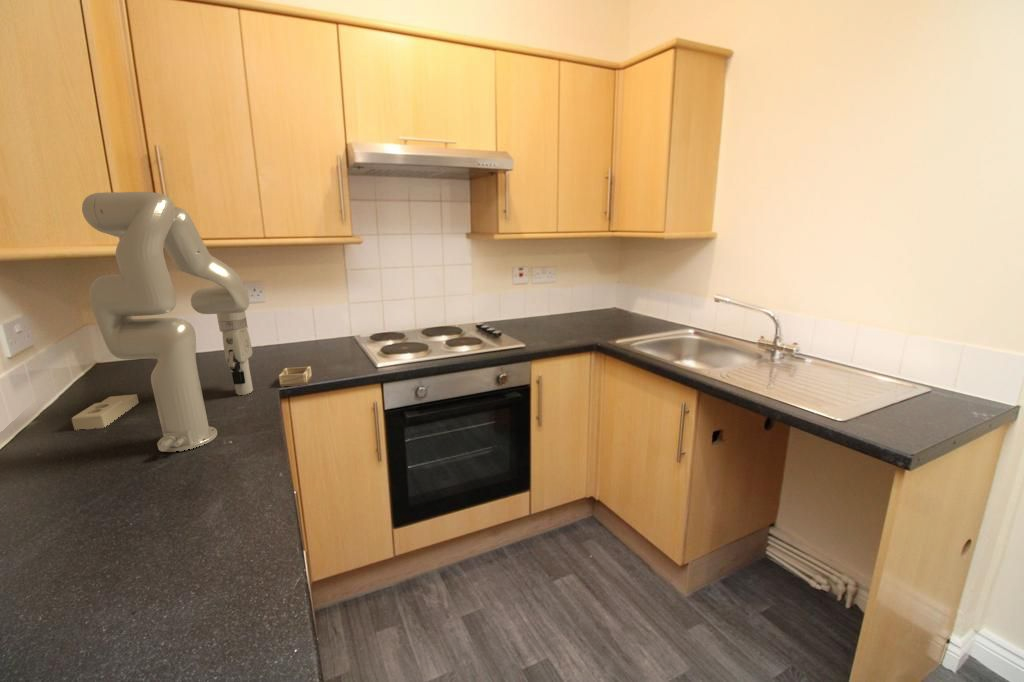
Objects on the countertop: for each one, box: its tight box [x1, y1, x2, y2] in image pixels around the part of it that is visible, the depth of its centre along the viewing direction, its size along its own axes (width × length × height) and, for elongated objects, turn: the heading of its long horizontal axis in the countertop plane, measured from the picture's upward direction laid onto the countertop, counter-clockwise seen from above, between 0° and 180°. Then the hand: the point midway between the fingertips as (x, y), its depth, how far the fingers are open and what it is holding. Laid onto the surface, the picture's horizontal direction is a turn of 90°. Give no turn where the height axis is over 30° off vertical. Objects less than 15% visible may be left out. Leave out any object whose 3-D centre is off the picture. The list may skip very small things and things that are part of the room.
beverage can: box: [234, 358, 254, 396], centre depth 152 cm, size 5×5×12 cm
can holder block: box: [278, 365, 313, 386], centre depth 162 cm, size 8×8×4 cm
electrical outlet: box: [71, 393, 139, 431], centre depth 137 cm, size 7×4×18 cm
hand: (242, 380), depth 152 cm, fingers closed on beverage can, 4 cm apart
